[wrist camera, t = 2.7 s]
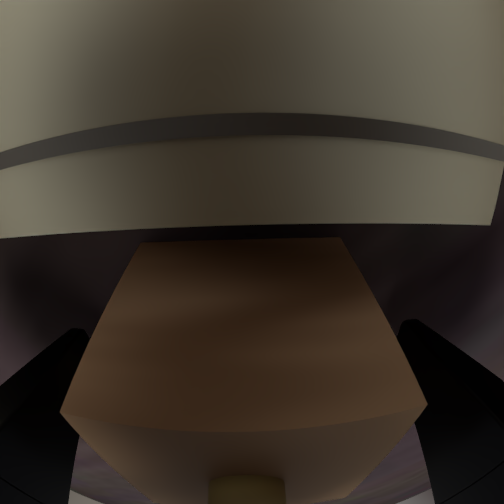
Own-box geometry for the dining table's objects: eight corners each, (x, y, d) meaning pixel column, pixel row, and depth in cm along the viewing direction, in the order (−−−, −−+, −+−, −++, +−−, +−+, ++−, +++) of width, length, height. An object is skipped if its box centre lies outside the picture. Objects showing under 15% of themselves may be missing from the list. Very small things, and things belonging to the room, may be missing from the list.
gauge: (338, 235, 8) (447, 451, 3) (316, 365, 10) (349, 522, 5) (141, 241, 7) (43, 458, 2) (173, 369, 10) (151, 526, 5)
